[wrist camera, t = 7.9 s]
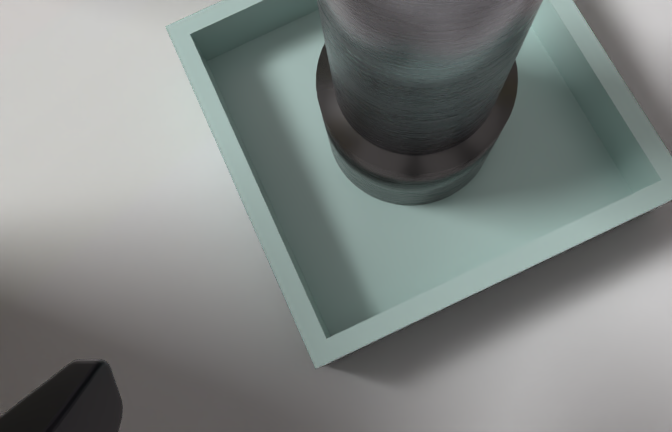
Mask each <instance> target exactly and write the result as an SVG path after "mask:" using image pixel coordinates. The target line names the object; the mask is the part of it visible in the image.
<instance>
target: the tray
mask: <svg viewBox="0 0 672 432" xmlns="http://www.w3.org/2000/svg"><path fill="white" fill-rule="evenodd" d="M166 29H167V31H168V34H169V36H170V38H171V40H172V43H173V45H174V47H175V50H176V52H177V54H178V56H179V59H180V61H181V63H182V65H183V68H184V70H185V72H186V75H187V77H188V79H189V81H190V84H191V86H192V88H193V91H194V93H195V95H196V97H197V100H198V102H199V104H200V107H201V109H202V111H203V113H204V116H205V118H206V120H207V123H208V125H209V127H210V129H211V132H212V134H213V136H214V138H215V141H216V143H217V145H218V148H219V150H220V152H221V154H222V157H223V159H224V161H225V164H226V166H227V168H228V170H229V173H230V175H231V177H232V180H233V182H234V184H235V186H236V189H237V191H238V193H239V196H240V198H241V200H242V202H243V205H244V207H245V209H246V211H247V214H248V216H249V218H250V221H251V223H252V225H253V227H254V230H255V232H256V234H257V237H258V239H259V241H260V243H261V246H262V248H263V250H264V253H265V255H266V257H267V259H268V262H269V264H270V266H271V269H272V271H273V273H274V275H275V278H276V280H277V282H278V284H279V287H280V289H281V291H282V294H283V296H284V298H285V300H286V303H287V305H288V307H289V310H290V312H291V314H292V316H293V319H294V321H295V323H296V326H297V328H298V330H299V332H300V335H301V337H302V339H303V342H304V344H305V346H306V348H307V351H308V353H309V355H310V357H311V360H312V362H313V364H314V367H315V369H317V368H320V367H322V366H325V365H327V364H329V363H331V362H333V361H335V360H338V359H340V358H342V357H344V356H346V355H348V354H350V353H352V352H354V351H357V350H359V349H361V348H363V347H365V346H367V345H369V344H371V343H373V342H375V341H378V340H380V339H382V338H384V337H386V336H388V335H390V334H392V333H394V332H396V331H399V330H401V329H403V328H405V327H407V326H409V325H411V324H413V323H415V322H418V321H420V320H422V319H424V318H426V317H428V316H430V315H432V314H434V313H436V312H439V311H441V310H443V309H445V308H447V307H449V306H451V305H453V304H455V303H457V302H460V301H462V300H464V299H466V298H468V297H470V296H472V295H474V294H476V293H479V292H481V291H483V290H485V289H487V288H489V287H491V286H493V285H495V284H497V283H500V282H502V281H504V280H506V279H508V278H510V277H512V276H514V275H516V274H519V273H521V272H523V271H525V270H527V269H529V268H531V267H533V266H535V265H537V264H540V263H542V262H544V261H546V260H548V259H550V258H552V257H554V256H556V255H558V254H561V253H563V252H565V251H567V250H569V249H571V248H573V247H575V246H577V245H580V244H582V243H584V242H586V241H588V240H590V239H592V238H594V237H596V236H598V235H601V234H603V233H605V232H607V231H609V230H611V229H613V228H615V227H617V226H619V225H622V224H624V223H626V222H628V221H630V220H632V219H634V218H636V217H638V216H641V215H643V214H645V213H647V212H649V211H651V210H653V209H655V208H657V207H659V206H661V205H663V204H665V203H667V202H669V201H671V200H672V156H671V154H670V153H669V151H668V150H667V148H666V146H665V145H664V143H663V142H662V140H661V139H660V137H659V135H658V134H657V132H656V131H655V129H654V128H653V126H652V124H651V123H650V121H649V120H648V118H647V116H646V115H645V113H644V112H643V110H642V109H641V107H640V105H639V104H638V102H637V101H636V99H635V98H634V96H633V94H632V93H631V91H630V90H629V88H628V87H627V85H626V83H625V82H624V80H623V79H622V77H621V76H620V74H619V72H618V71H617V69H616V68H615V66H614V64H613V63H612V61H611V60H610V58H609V57H608V55H607V53H606V52H605V50H604V49H603V47H602V46H601V44H600V42H599V41H598V39H597V38H596V36H595V35H594V33H593V31H592V30H591V28H590V27H589V25H588V24H587V22H586V20H585V19H584V17H583V16H582V14H581V13H580V11H579V9H578V8H577V6H576V5H575V3H574V1H573V0H543V2H542V4H541V6H540V8H539V10H538V12H537V14H536V17H535V19H534V21H533V23H532V25H531V27H530V29H529V32H528V34H527V36H526V38H525V40H524V42H523V44H522V47H521V49H520V51H519V53H518V55H517V57H516V64H517V71H518V87H517V95H516V99H515V104H514V107H513V110H512V112H511V115H510V117H509V119H508V121H507V123H506V124H505V126H504V128H503V130H502V132H501V133H500V135H499V137H498V139H497V141H496V142H495V144H494V146H493V148H492V149H491V151H490V153H489V155H488V157H487V158H486V160H485V162H484V164H483V165H482V167H481V169H480V170H479V172H478V173H477V174H476V175H475V177H474V178H473V179H472V180H471V181H470V182H469V183H468V184H467V185H466V186H464V187H463V188H462V189H460V190H459V191H458V192H456V193H454V194H452V195H451V196H449V197H447V198H444V199H442V200H439V201H436V202H433V203H429V204H423V205H398V204H392V203H388V202H384V201H381V200H379V199H376V198H374V197H372V196H370V195H368V194H366V193H365V192H363V191H362V190H360V189H359V188H358V187H356V186H355V185H354V184H353V183H352V182H351V181H350V180H349V179H348V178H347V177H346V176H345V174H344V173H343V172H342V171H341V169H340V167H339V166H338V164H337V162H336V160H335V158H334V156H333V153H332V150H331V147H330V143H329V139H328V135H327V132H326V128H325V124H324V121H323V117H322V113H321V110H320V106H319V102H318V98H317V91H316V71H317V64H318V60H319V56H320V53H321V50H322V48H323V46H324V43H325V40H324V35H323V30H322V25H321V20H320V14H319V9H318V4H317V0H222V1H220V2H218V3H216V4H214V5H211V6H209V7H207V8H205V9H203V10H200V11H198V12H196V13H194V14H192V15H190V16H187V17H185V18H183V19H181V20H179V21H176V22H174V23H172V24H170V25H168V26H166Z"/></svg>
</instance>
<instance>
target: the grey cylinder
mask: <svg viewBox="0 0 672 432" xmlns="http://www.w3.org/2000/svg"><path fill="white" fill-rule="evenodd" d="M542 2H543V0H317V4H318V9H319V14H320V20H321V25H322V30H323V35H324V40H325V43H324V46H323V48H322V50H321V53H320V56H319V60H318V64H317V71H316V91H317V98H318V102H319V106H320V110H321V113H322V117H323V121H324V124H325V128H326V132H327V135H328V139H329V143H330V147H331V150H332V153H333V156H334V158H335V160H336V162H337V164H338V166H339V167H340V169H341V171H342V172H343V173H344V174H345V176H346V177H347V178H348V179H349V180H350V181H351V182H352V183H353V184H354V185H355V186H356V187H358V188H359V189H360V190H362V191H363V192H365V193H366V194H368V195H370V196H372V197H374V198H376V199H379V200H381V201H384V202H388V203H392V204H398V205H423V204H429V203H433V202H436V201H439V200H442V199H444V198H447V197H449V196H451V195H452V194H454V193H456V192H458V191H459V190H460V189H462V188H463V187H464V186H466V185H467V184H468V183H469V182H470V181H471V180H472V179H473V178H474V177H475V175H476V174H477V173H478V172H479V170H480V169H481V167H482V165H483V164H484V162H485V160H486V158H487V157H488V155H489V153H490V151H491V149H492V148H493V146H494V144H495V142H496V141H497V139H498V137H499V135H500V133H501V132H502V130H503V128H504V126H505V124H506V123H507V121H508V119H509V117H510V115H511V112H512V110H513V107H514V104H515V99H516V95H517V87H518V71H517V64H516V57H517V55H518V53H519V51H520V49H521V47H522V44H523V42H524V40H525V38H526V36H527V34H528V32H529V29H530V27H531V25H532V23H533V21H534V19H535V17H536V14H537V12H538V10H539V8H540V6H541V4H542Z"/></svg>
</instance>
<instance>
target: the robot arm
mask: <svg viewBox="0 0 672 432" xmlns="http://www.w3.org/2000/svg"><path fill="white" fill-rule="evenodd" d="M122 409H123V407H122V400H121V397H120V394H119V391H118V388H117V385H116V382H115V379H114V376H113V373H112V371H111V368H110V366H109V364H108V363H107V362H106V361H105V360H102V359H79V360H75V361H73V362H71V363H70V364H68V365H67V366H66V367H64V368H63V369H62V370H60V371H59V372H58V373H56V374H55V375H54V376H53V377H51V378H50V379H49V380H47V381H46V382H45V383H43V384H42V385H41V386H40V387H38V388H37V389H36V390H34V391H33V392H32V393H31V394H29V395H28V396H27V397H25V398H24V399H23V400H21V401H20V402H19V403H18V404H16V405H15V406H14V407H12V408H11V409H10V410H8V411H7V412H6V413H5V414H3V415H2V416H1V417H0V432H118V430H119V426H120V423H121V418H122Z"/></svg>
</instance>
